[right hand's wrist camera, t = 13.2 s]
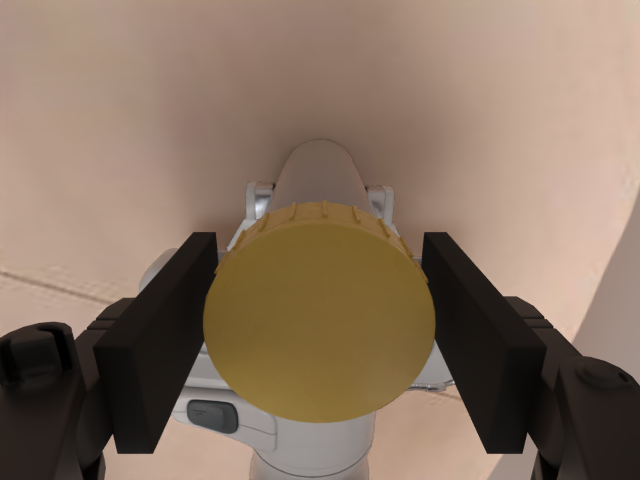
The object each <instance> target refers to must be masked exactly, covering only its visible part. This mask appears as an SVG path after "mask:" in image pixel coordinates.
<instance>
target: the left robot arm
mask: <svg viewBox="0 0 640 480" xmlns="http://www.w3.org/2000/svg"><path fill="white" fill-rule="evenodd" d="M274 187H275V182H258V181H249V183H248V184H247V185H246V193H245V198H246V216H245V218H244V219H243V221H242V223H241V225H240V226H239V228H238V230H237V232H236V233H235V235H234V237H233V238H232V240H231V242H230V244H229V245H228V247H227V250H217V251H218V262H219V263H220V262H221V260H222V258H223V256H224V255H225V253H226V251H229V252H230V250H231V248H232V247H233V245H234V244H235V242H236V240H237V238H238V237H239V235H240V233H241V231H242V230H243V229H245V230H247V229H248V228H249V227H251V226H252V225H253V224H254V223H256V222H257V220H258V219H260V217H261V215H262V213H263V211H264V209H265V207H266V204H267V202H268V200H269V198H270V196H271V194H272V192H273V189H274ZM365 189H366V191H367V193H368V195H369V197H370V200H371V202H372V204H373V206H374V208H375V211H376V213H377V215H378V217H379V218H382V219H383V220H384V222H385V224H386V225H387V226H388V227H389V228H391V229H392V230H393V231H394V232H395V233H396V234H397V235H398V237H400V235H399V233H398V231H397V229H396V227H395V225H394V223H393V221H392V216H393V206H394V190H393V189H392V187H391V186H375V185H365ZM177 250H178V249H169V250H166V251H165V252H164V253H163V254H162V255H161V256H159V257H158V258H157V259H156V260H155V261H154V262H153V263H152V264H151V266H150V267H149V268H148V269H147V270H146V272H145V273H144V275H143V276H142V278H141V281H140V285H139V293H140V292H141V291H142V290H143V289H144V288H145V287H146V286H147V284H148V283H149V282H150V281H151V280H152V279H153V278H154V276H155V275H156V274H157V273H158V272H159V271H160V270H161V269H162V267H163V266H164V265H165V264H166V263H167V262H168V261H169V260H170V258H171V257H172V256H173V255H174V254H175V253H176V252H177ZM414 259H416V260H417V262H418V263H419V265H420V267H421V262H422V257H421V256H414V257H413V260H414ZM454 384H455V383H454V380H453V378H452V376H451V374H450V372H449V370H448V367H447V365H446V363H445V361H444V359H443V356H442V354H441V352H440V350H439V348H438V346H437V343H436V341H435V339H434V342H433V346H432V350H431V353H430V355H429V358H428V360H427V363H426V364H425V366H424V368H423V369H422V371H421V373H420V374H419V376H418V377H417V378H416V379H415V381H414V382H413V383H412V384H411V385H410V386H409V387H408V388H407V389H406V390H405V391H410V390H425V391H426V392H442V391H445V390H446V386H451V385H454ZM171 416H172V417H173V418H174V419H175V420H177V421H178V422H181V423H183V424H187V425H190V426H194V427H198V428H201V429H205V430H208V431H212V432H215V433H218V434H221V435H224V436H227V437H230V438H232V439H235V440H237V441H240V442H242V443H244V444H246V445H248V446H250V447H252V448H253V451H254V453H253V456H252V459H251V463H250V473H249V480H369V465H368V460H367V455H368V453H369V451H370V448H371V445H372V442H373V437H374V429H375V419H376V411H374V412H372V413H370V414H367V415H364V416H361V417H358V418H355V419H351V420H346V421H342V422H333V423H305V422H298V421H292V420H287V419H284V418H281V417H277V416H274V415H272V414H269V413H267V412H265V411H262V410H260V409H259V408H257V407H255V406H253V405H251V404H250V403H248V402H247V401H246V400H244V399H243V398H241V397H240V396H239V395H238V394H237V393H235V392H234V391H233V390H232V389H231V388H230V387H229V386H228V385H227V383H226V382H225V381H224V380H223V379H222V378H221V376H220V375H219V373H218V372H217V370H216V368H215V367H214V365H213V363H212V361H211V359H210V356H209V354H208V351H207V347H206V344H205V341H204V343H203V346H202V348H201V350H200V352H199V354H198V356H197V359H196V361H195V363H194V365H193V367H192V370H191V372H190V374H189V376H188V378H187V380H186V383H185V385H184V387H183V389H182V391H181V394H180V396H179V398H178V400H177V402H176V404H175V407H174V409H173V411H172V413H171Z"/></svg>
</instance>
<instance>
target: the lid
mask: <svg viewBox="0 0 640 480" xmlns="http://www.w3.org/2000/svg"><path fill="white" fill-rule="evenodd" d="M413 257H414V256H413V254H412V252H411V251H410V249H409V247H408V245H407V243H406V242H405V240H404V238H403V237H402V236H401V237H398V235H397V234H396V233H395V232H394V231H393V230H392V229H391V228H389V227H388V226H387V225H386V224H385V222H384V220H383V219H382V218H379V219H378V218H376V217H374V216H372V215H370V214H368V213H367V212H365V211H362V210H359V209H357V206H355V205H353V206H352V207H351V206H347V205H342V204H338V203H329V202H327V200H323V202H308V203H302V204H296V202H294V203H292V206H288V207H285V208H282V209H279V210H277V211H275V212H272V213H270V214H268V212H267V213H265V214H264V216H263V218H261V219H260V220H258V221H257V222H256V223H254V224H253V225H252V226H251V227H249V228H248V229H247V230H245V229H243V230H242V231H241V233H240V235H239V237H238V238H237V240H236V242H235V244H234V245H233V247H232V248H231V250H230V252H229V251H226V253H225V255H224V256H223V258H222V260H221V262H220V263H219V265H218V267H217V268H216V270H215V272H214V273H215V274H217V275H216V277H215V279H214V281H213V283H212V285H211V287H210V289H209V292H208V294H207V295H206V298H205V300H206V301H205V306H204V312H203V333H204V340H205V344H206V347H207V351H208V354H209V356H210V359H211V361H212V363H213V365H214V367H215V368H216V370H217V372H218V373H219V375H220V376H221V378H222V379H223V380H224V381H225V382H226V383H227V385H228V386H229V387H230V388H231V389H232V390H233V391H234V392H235V393H237V394H238V395H239V396H240V397H241V398H243V399H244V400H246V401H247V402H248V403H250V404H251V405H253V406H255V407H257V408H259V409H260V410H262V411H265V412H267V413H269V414H272V415H274V416H277V417H281V418H284V419H287V420H292V421H298V422H305V423H333V422H342V421H346V420H351V419H355V418H358V417H361V416H364V415H367V414H370V413H372V412H374V411H376V410H378V409H380V408H382V407H384V406H385V405H387V404H389V403H390V402H392V401H393V400H395V399H396V398H397V397H399V396H400V395H401V394H402V393H403V392H404V391H405V390H406V389H407V388H408V387H409V386H410V385H411V384H412V383H413V382H414V381H415V379H416V378H417V377H418V376H419V374H420V373H421V371H422V369H423V368H424V366H425V364H426V363H427V360H428V358H429V355H430V353H431V350H432V346H433V342H434V338H435V329H436V317H435V308H434V303H433V299H432V296H431V293H430V291H429V288H428V285H427V283H428V279H427V277H426V276H425V274H424V272H423V270H422V269H421V267H420V265H419V263H418V262H417V260H416V259H414V260H413Z"/></svg>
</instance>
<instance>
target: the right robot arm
mask: <svg viewBox="0 0 640 480" xmlns="http://www.w3.org/2000/svg"><path fill="white" fill-rule="evenodd" d="M218 265H219V262H218V251H217V241H216V232H193V233H192V235H191V236H190V237H189V238H188V239H187V240H186V241H185V243H184V244H183V245H182V246H181V247H180V248H179V249H178V250H177V252H176V253H175V254H174V255H173V256H172V257H171V258H170V260H169V261H168V262H167V263H166V264H165V265H164V266H163V267H162V269H161V270H160V271H159V272H158V273H157V274H156V275H155V276H154V278H153V279H152V280H151V281H150V282H149V283H148V284H147V286H146V287H145V288H144V289H143V290H142V291H141V292H140V293H139V295H138V296H137V297H136V298H122V299H121V300H119V301H117V302H115V303H113V304H112V305H110V306H108V307H107V308H106V309H105V310H104V311H103V312H102V313H101V314H100V315H99V316H98V317H97V318H96V321H93V322H92V323H91V324H90V325H89V326H88V327H87V330H84V331H83V332H82V333H81V334H80V335H79V336H78V337H77V338H76V339H75V340H74V337H73V333H72V329H71V327H70V326H68V325H67V324H65V323H59V322H45V323H37V324H33V325H29V326H25V327H22V328H20V329H17V330H15V331H12V332H10V333H8V334H6V335H4V336H3V337H1V338H0V480H104V477H105V470H106V466H105V459H104V455H103V452H102V451H103V449H104V447H105V446H106V444H107V442H108V441H109V439H110V437H111V436H112V434H113V436H114V440H115V445H116V449H117V453H118V454H153V452H154V450H155V448H156V446H157V444H158V442H159V439H160V437H161V435H162V433H163V431H164V428H165V426H166V424H167V422H168V420H169V418H170V415H171V413H172V411H173V409H174V407H175V404H176V402H177V400H178V398H179V396H180V394H181V391H182V389H183V387H184V385H185V383H186V380H187V378H188V376H189V374H190V372H191V370H192V367H193V365H194V363H195V361H196V359H197V356H198V354H199V352H200V350H201V348H202V346H203V343H204V341H205V340H204V333H203V312H204V306H205V301H206V300H205V298H206V295H207V294H208V292H209V289H210V287H211V285H212V283H213V281H214V279H215V277H216V275H217V274H215V273H214V272H215V270H216V268H217V267H218ZM421 269H422V270H423V272H424V274H425V276H426V277H427V279H428V283H427V285H428V288H429V291H430V293H431V296H432V299H433V303H434V308H435V317H436V329H435V338H434V339H435V341H436V343H437V346H438V348H439V350H440V352H441V354H442V356H443V359H444V361H445V363H446V365H447V367H448V370H449V372H450V374H451V376H452V378H453V380H454V383H455V385H456V387H457V389H458V391H459V394H460V396H461V398H462V400H463V402H464V404H465V407H466V409H467V411H468V413H469V415H470V418H471V420H472V422H473V424H474V426H475V428H476V431H477V433H478V435H479V437H480V439H481V442H482V444H483V446H484V448H485V450H486V452H487V454H522V453H523V449H524V445H525V440H526V436H527V432H528V434H529V435H530V437H531V438H532V440H533V442H534V444H535V445H536V447H537V448H538V452H537V456H536V460H535V463H534V467H533V471H532V475H531V479H530V480H640V385H639V384H638V383H637V382H636V381H635V379H634V378H633V377H632V376H631V375H629V374H628V373H627V372H625V371H624V370H622V369H621V368H619V367H617V366H615V365H613V364H610V363H608V362H606V361H603V360H599V359H596V358H592V357H586V356H582V355H581V354H580V353H579V352H578V351H577V350H576V349H575V348H574V347H573V346H572V345H571V343H570V342H569V341H568V340H567V339H566V338H565V337H564V336H563V335H562V334H561V333H560V332H559V331H558V330H557V329H554V328H553V325H552V324H551V323H550V322H549V321H548V320H547V319H544V316H543V315H542V314H541V313H540V312H539V311H538V310H537V309H536V308H535V307H534V306H533V305H531V304H529V303H527V302H526V301H524V300H522V299H520V298H519V297H517V296H502V295H501V293H500V292H499V291H498V290H497V289H496V288H495V287H494V286H493V284H492V283H491V282H490V281H489V280H488V279H487V278H486V276H485V275H484V274H483V273H482V272H481V271H480V270H479V269H478V267H477V266H476V265H475V264H474V263H473V262H472V261H471V260H470V258H469V257H468V256H467V255H466V254H465V253H464V252H463V250H462V249H461V248H460V247H459V246H458V245H457V244H456V243H455V241H454V240H453V239H452V238H451V237H450V236H449V235H448V234H447V232H424V241H423V251H422V262H421Z"/></svg>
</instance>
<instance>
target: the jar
mask: <svg viewBox="0 0 640 480" xmlns="http://www.w3.org/2000/svg"><path fill="white" fill-rule="evenodd" d="M323 200H327V202H329V203H338V204H342V205H347V206H351V207H352V206H353V205H355V206H357V209H359V210H362V211H365V212H367V213H368V214H370V215H372V216H374V217H376V218H378V219H379V217H378V215H377V213H376V211H375V208H374V206H373V204H372V202H371V200H370V197H369V195H368V193H367V191H366V189H365V186H364V184H363V182H362V180H361V178H360V175H359V173H358V171H357V169H356V167H355V164H354V162H353V160H352V158H351V157H350V155H349V154H348V152H347V151H346V150H345V149H344V148H342V147H341V146H340V145H338V144H336V143H334V142H331V141H327V140H312V141H308V142H306V143H304V144H302V145H300V146H298V147H297V148H296V149H295V150H294V151H293V152H292V153H291V155H290V156H289V157H288V159H287V161H286V164H285V166H284V168H283V170H282V172H281V174H280V176H279V179H278V181H277V183H276V185H275V187H274V189H273V192H272V194H271V196H270V198H269V200H268V202H267V204H266V207H265V209H264V211H263V213H262V215H261V217H260V219H261V218H263V216H264V214H265V213H267V212H268V214H270V213H272V212H275V211H277V210H279V209H282V208H285V207H288V206H292V203H294V202H296V204H302V203H308V202H323Z"/></svg>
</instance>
